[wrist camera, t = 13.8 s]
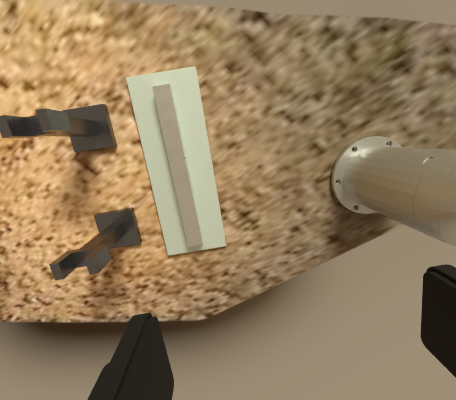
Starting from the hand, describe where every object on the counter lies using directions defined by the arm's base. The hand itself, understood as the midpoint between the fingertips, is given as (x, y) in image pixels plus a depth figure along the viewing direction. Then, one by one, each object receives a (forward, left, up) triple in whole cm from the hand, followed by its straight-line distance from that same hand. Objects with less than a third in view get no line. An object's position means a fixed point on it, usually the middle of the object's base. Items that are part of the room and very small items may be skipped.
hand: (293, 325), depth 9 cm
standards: (+20, -3, -32) cm, 38 cm away
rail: (+8, -3, -32) cm, 33 cm away
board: (+8, -3, -32) cm, 33 cm away
